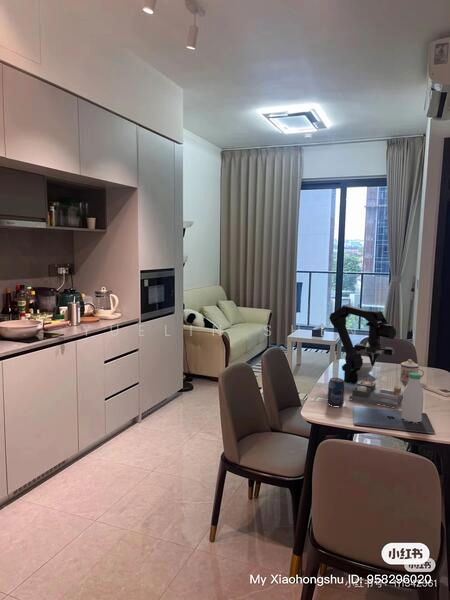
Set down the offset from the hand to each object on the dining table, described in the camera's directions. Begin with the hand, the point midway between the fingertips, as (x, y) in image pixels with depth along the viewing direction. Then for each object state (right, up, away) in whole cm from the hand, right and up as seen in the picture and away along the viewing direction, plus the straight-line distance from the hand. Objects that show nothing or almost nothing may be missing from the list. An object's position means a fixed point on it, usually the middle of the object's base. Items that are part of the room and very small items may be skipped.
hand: (372, 365), depth 219 cm
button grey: (-10, -11, -14) cm, 20 cm away
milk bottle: (+3, -17, -39) cm, 43 cm away
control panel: (-2, -14, -12) cm, 18 cm away
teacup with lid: (+27, -11, +16) cm, 33 cm away
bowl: (+3, -9, +28) cm, 30 cm away
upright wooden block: (+6, -12, -17) cm, 21 cm away
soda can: (-25, -15, -23) cm, 37 cm away
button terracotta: (-5, -10, -4) cm, 12 cm away
